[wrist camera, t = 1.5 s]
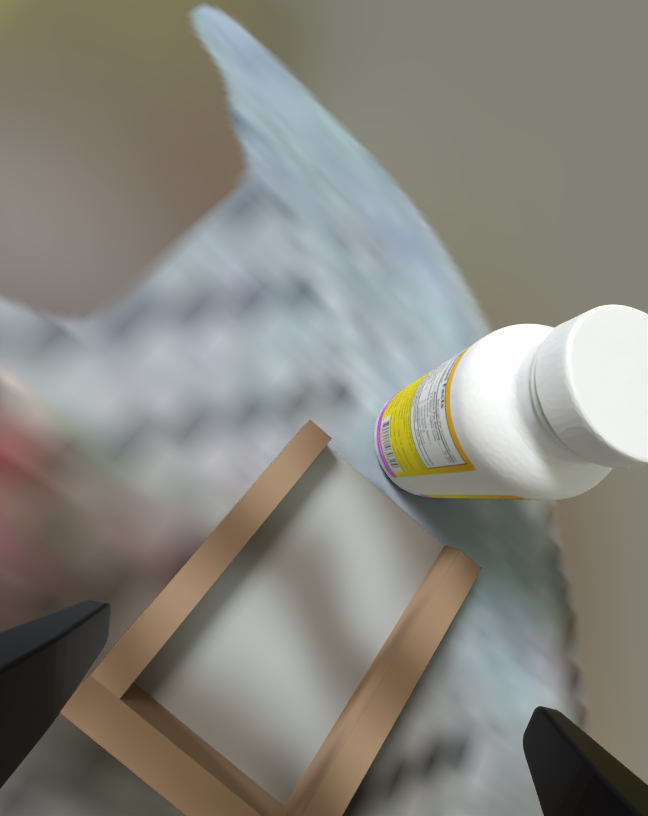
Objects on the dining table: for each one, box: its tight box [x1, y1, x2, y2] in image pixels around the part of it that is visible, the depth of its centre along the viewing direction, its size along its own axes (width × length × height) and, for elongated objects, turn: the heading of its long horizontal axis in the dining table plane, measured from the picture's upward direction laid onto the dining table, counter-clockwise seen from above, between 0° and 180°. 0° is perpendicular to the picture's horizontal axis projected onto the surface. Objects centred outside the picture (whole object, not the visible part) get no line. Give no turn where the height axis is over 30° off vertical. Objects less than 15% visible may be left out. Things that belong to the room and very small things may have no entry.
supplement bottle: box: [374, 305, 648, 500], centre depth 16 cm, size 7×7×13 cm
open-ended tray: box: [60, 420, 482, 816], centre depth 18 cm, size 16×12×2 cm
